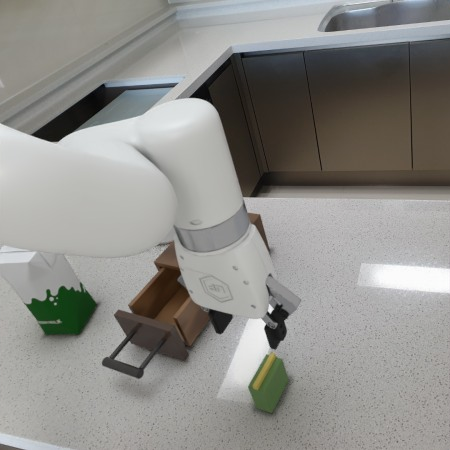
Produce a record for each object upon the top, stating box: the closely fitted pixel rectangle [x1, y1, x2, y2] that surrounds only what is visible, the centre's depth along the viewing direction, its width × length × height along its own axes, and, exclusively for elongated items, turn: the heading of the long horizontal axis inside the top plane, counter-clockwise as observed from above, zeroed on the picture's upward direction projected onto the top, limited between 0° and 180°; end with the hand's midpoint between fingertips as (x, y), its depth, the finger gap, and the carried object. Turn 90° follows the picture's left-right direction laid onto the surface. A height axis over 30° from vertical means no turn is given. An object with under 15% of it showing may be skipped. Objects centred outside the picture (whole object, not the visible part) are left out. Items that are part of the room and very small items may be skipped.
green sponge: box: [247, 352, 290, 414], centre depth 64 cm, size 3×6×6 cm, turn 156°
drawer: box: [101, 267, 210, 380], centre depth 75 cm, size 22×11×7 cm, turn 156°
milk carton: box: [0, 245, 98, 336], centre depth 79 cm, size 9×9×20 cm
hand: (250, 332), depth 58 cm, fingers open, 7 cm apart
